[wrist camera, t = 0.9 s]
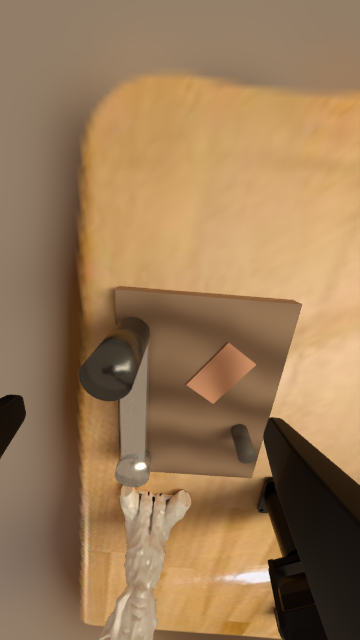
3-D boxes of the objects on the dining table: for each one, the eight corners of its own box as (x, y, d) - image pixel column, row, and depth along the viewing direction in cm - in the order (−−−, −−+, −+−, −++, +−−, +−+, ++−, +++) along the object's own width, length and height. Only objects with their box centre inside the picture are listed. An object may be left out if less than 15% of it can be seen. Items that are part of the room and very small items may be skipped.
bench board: (247, 465, 26) (260, 507, 22) (123, 457, 26) (112, 498, 22) (293, 300, 19) (325, 315, 14) (119, 286, 18) (101, 297, 14)
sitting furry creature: (192, 489, 28) (198, 653, 17) (178, 525, 31) (175, 686, 19) (123, 478, 27) (82, 640, 16) (116, 516, 30) (76, 677, 19)
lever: (151, 469, 24) (138, 563, 17) (120, 467, 24) (93, 561, 16) (158, 312, 17) (141, 358, 10) (115, 309, 17) (68, 353, 10)
